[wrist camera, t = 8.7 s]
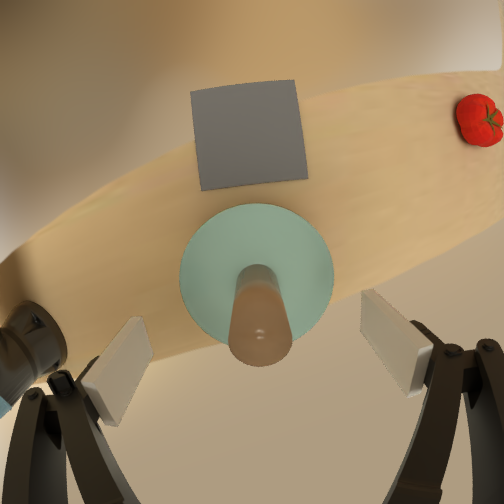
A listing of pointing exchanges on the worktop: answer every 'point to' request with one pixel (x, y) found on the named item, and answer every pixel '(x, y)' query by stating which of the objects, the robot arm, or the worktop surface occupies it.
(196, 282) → the cover
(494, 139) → the tomato
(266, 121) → the mat
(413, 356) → the robot arm
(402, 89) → the worktop surface
